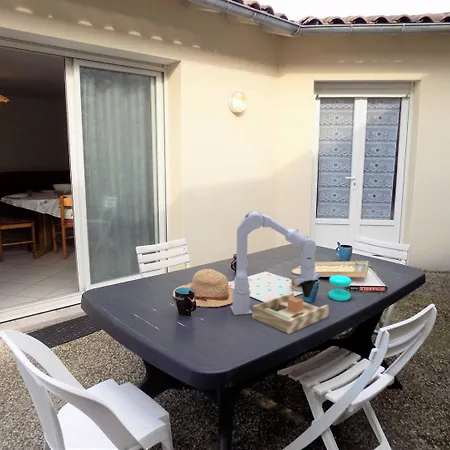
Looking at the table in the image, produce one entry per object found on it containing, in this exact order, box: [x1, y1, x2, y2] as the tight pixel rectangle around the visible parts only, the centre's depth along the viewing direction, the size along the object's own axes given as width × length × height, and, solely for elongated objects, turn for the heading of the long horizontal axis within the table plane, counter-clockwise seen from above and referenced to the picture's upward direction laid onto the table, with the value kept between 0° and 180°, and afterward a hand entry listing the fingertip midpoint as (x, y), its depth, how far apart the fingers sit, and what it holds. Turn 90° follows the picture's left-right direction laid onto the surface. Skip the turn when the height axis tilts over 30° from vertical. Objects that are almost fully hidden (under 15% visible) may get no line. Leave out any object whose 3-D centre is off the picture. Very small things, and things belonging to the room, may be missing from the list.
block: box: [288, 296, 304, 312], centre depth 164 cm, size 4×4×4 cm
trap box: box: [251, 292, 330, 335], centre depth 162 cm, size 25×20×5 cm
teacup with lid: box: [290, 265, 302, 292], centre depth 196 cm, size 12×9×12 cm
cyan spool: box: [328, 274, 352, 302], centre depth 184 cm, size 10×10×10 cm
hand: (306, 296), depth 168 cm, fingers closed
